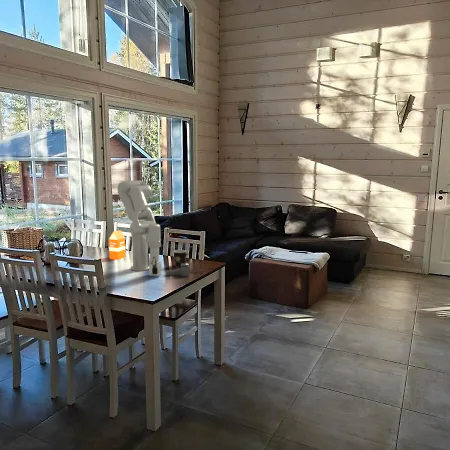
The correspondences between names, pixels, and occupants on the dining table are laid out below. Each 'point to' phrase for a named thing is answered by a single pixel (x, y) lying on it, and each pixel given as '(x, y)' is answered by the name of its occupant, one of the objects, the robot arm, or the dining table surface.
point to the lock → (157, 269)
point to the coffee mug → (180, 257)
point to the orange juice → (117, 245)
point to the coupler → (182, 272)
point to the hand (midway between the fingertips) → (155, 272)
